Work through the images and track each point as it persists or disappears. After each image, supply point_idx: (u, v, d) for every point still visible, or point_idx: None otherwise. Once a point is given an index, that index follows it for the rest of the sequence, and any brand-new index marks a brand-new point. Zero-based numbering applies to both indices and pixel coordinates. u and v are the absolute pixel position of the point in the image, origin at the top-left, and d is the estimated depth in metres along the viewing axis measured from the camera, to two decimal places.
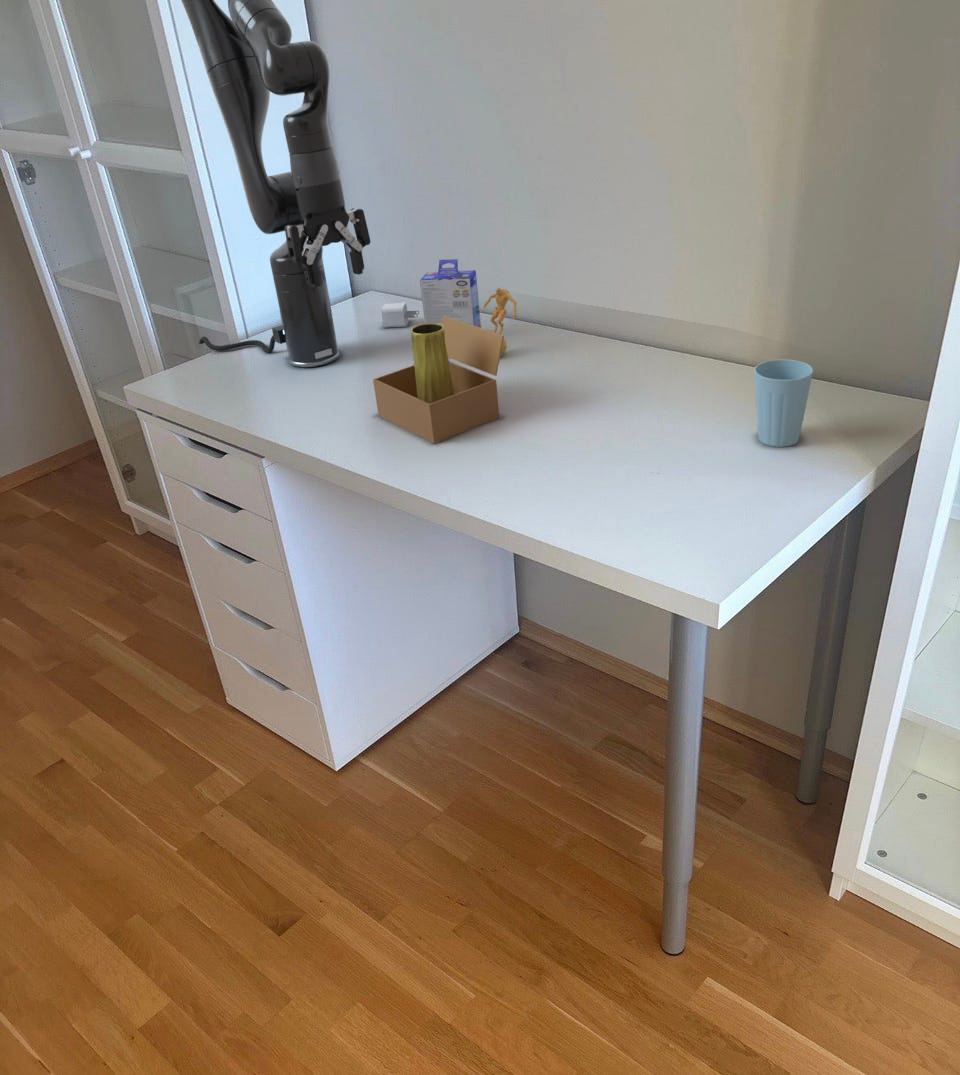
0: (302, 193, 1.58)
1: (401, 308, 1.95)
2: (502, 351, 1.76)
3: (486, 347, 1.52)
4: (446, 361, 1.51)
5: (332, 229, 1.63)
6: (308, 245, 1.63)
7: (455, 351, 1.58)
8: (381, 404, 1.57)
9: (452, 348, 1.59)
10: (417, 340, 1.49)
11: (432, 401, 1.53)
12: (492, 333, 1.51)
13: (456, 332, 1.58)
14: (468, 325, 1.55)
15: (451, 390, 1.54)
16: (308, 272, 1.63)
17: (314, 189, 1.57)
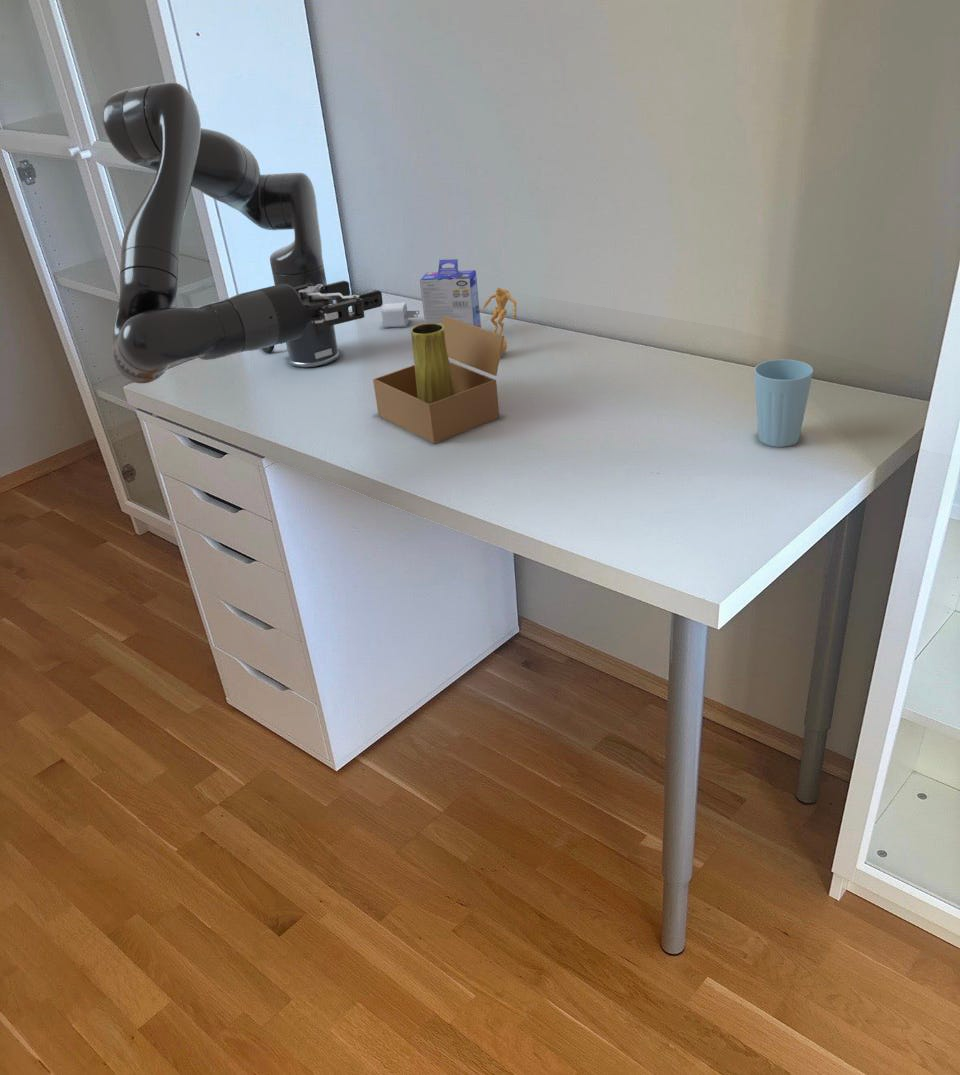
0: None
1: (401, 308, 1.95)
2: (502, 351, 1.76)
3: (486, 347, 1.52)
4: (446, 361, 1.51)
5: None
6: None
7: (455, 351, 1.58)
8: (381, 404, 1.57)
9: (452, 348, 1.59)
10: (417, 340, 1.49)
11: (432, 401, 1.53)
12: (492, 333, 1.51)
13: (456, 332, 1.58)
14: (468, 325, 1.55)
15: (451, 390, 1.54)
16: None
17: None
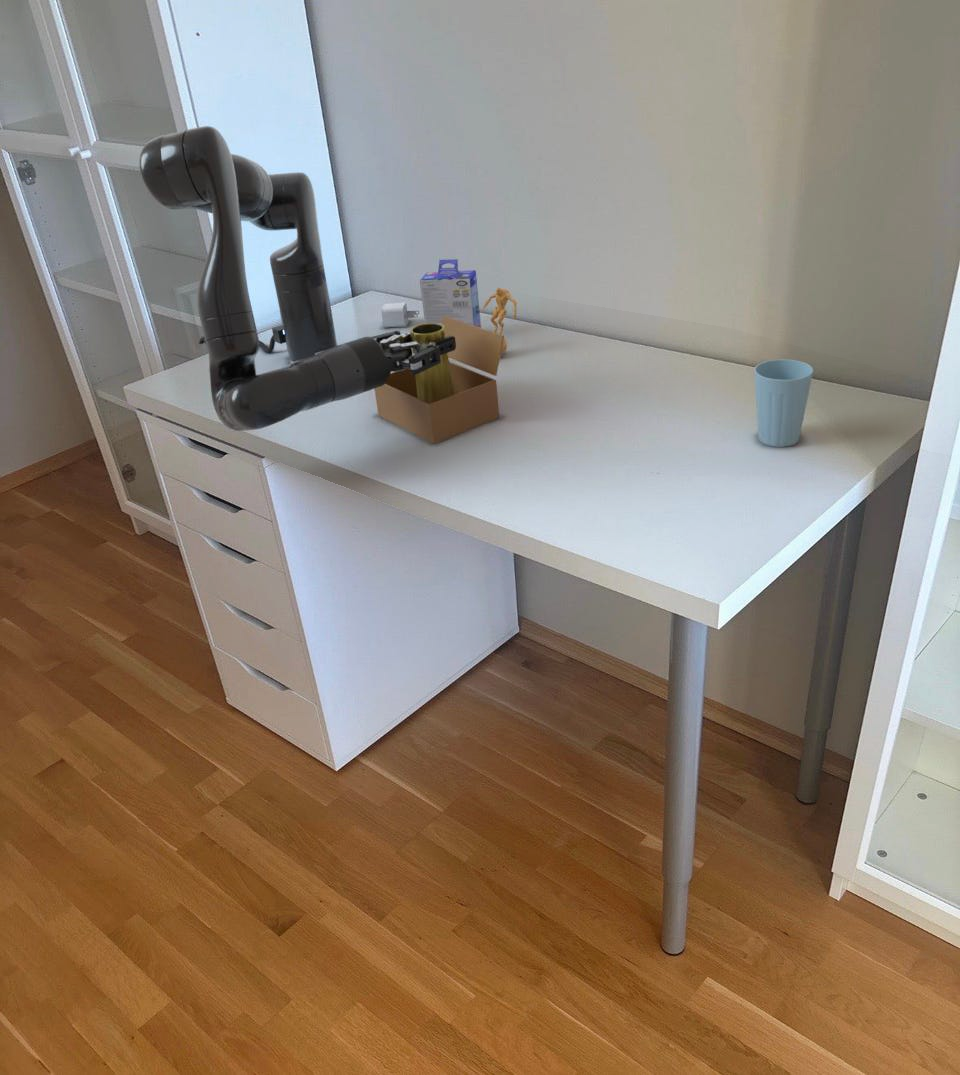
0: None
1: (401, 308, 1.95)
2: (502, 351, 1.76)
3: (486, 347, 1.52)
4: (446, 361, 1.51)
5: None
6: None
7: (455, 351, 1.58)
8: (381, 404, 1.57)
9: None
10: (417, 340, 1.49)
11: (432, 401, 1.53)
12: (492, 333, 1.51)
13: (456, 332, 1.58)
14: (468, 325, 1.55)
15: (451, 390, 1.54)
16: None
17: None
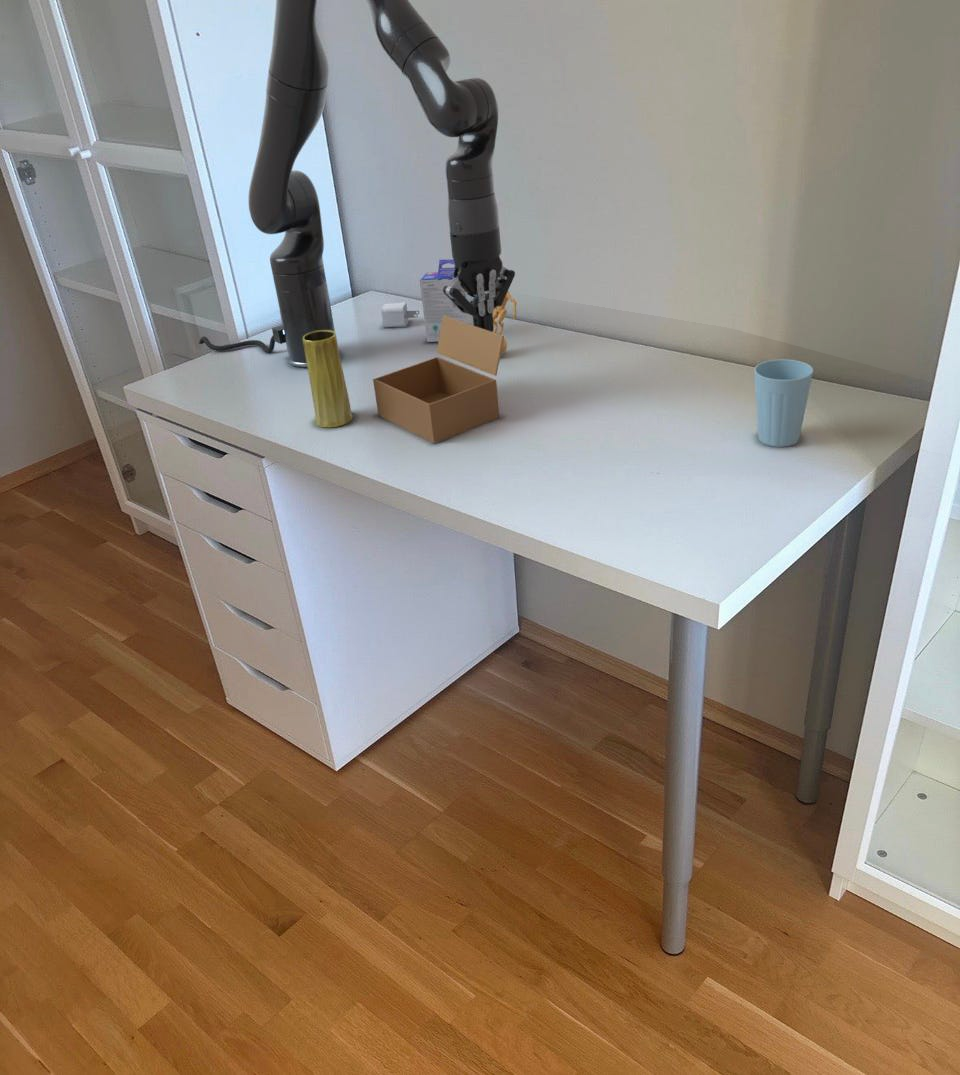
0: (460, 241, 1.47)
1: (401, 308, 1.95)
2: (502, 351, 1.76)
3: (486, 347, 1.52)
4: (338, 367, 1.54)
5: (485, 278, 1.52)
6: (472, 297, 1.53)
7: (455, 351, 1.58)
8: (381, 404, 1.57)
9: (452, 348, 1.59)
10: (308, 346, 1.51)
11: (326, 407, 1.56)
12: (492, 333, 1.51)
13: (456, 332, 1.58)
14: (468, 325, 1.55)
15: (345, 396, 1.57)
16: (479, 323, 1.55)
17: (474, 237, 1.46)
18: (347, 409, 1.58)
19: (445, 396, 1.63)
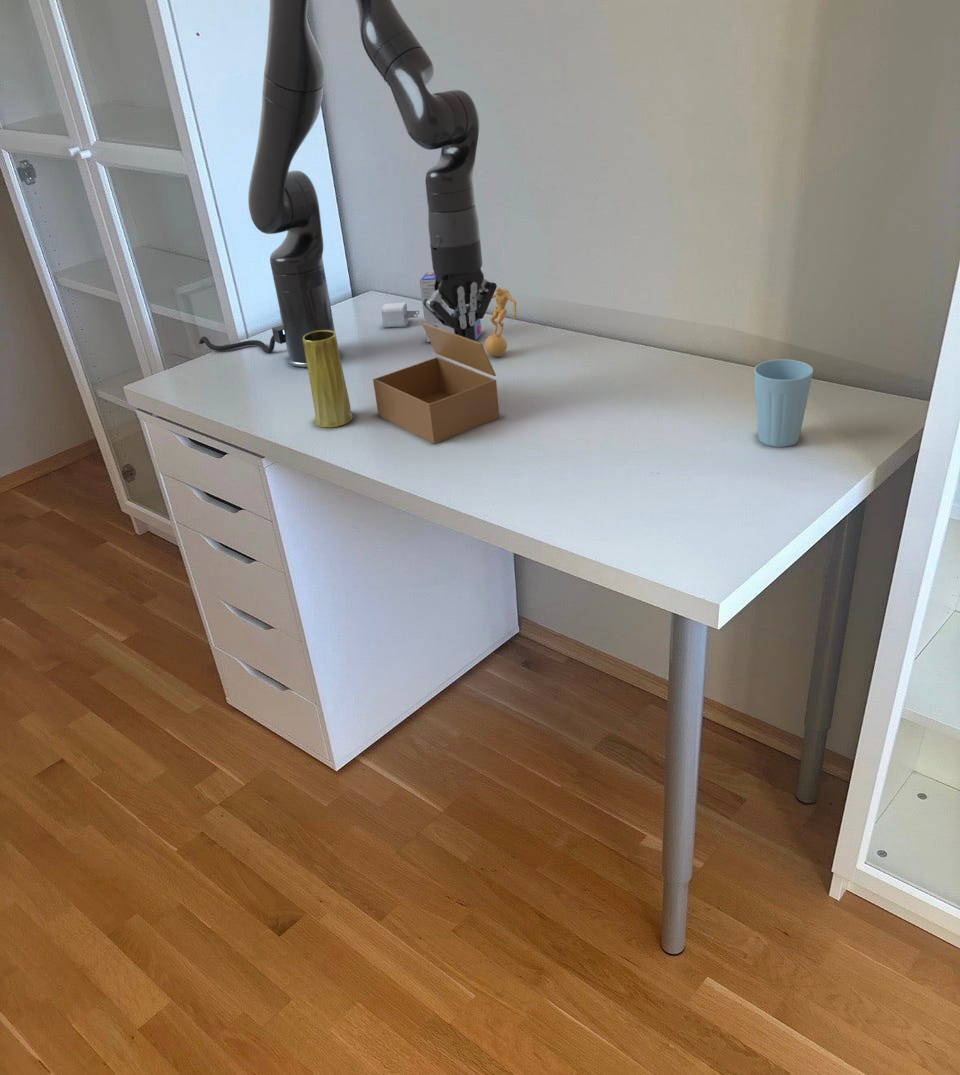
0: (441, 254, 1.45)
1: (401, 308, 1.95)
2: (502, 351, 1.76)
3: (473, 352, 1.51)
4: (338, 367, 1.54)
5: (466, 291, 1.51)
6: (453, 310, 1.52)
7: (450, 353, 1.58)
8: (381, 404, 1.57)
9: (446, 351, 1.58)
10: (308, 346, 1.51)
11: (326, 407, 1.56)
12: (470, 341, 1.49)
13: (441, 338, 1.56)
14: (447, 333, 1.54)
15: (345, 396, 1.57)
16: None
17: (455, 250, 1.44)
18: (347, 409, 1.58)
19: (445, 396, 1.63)
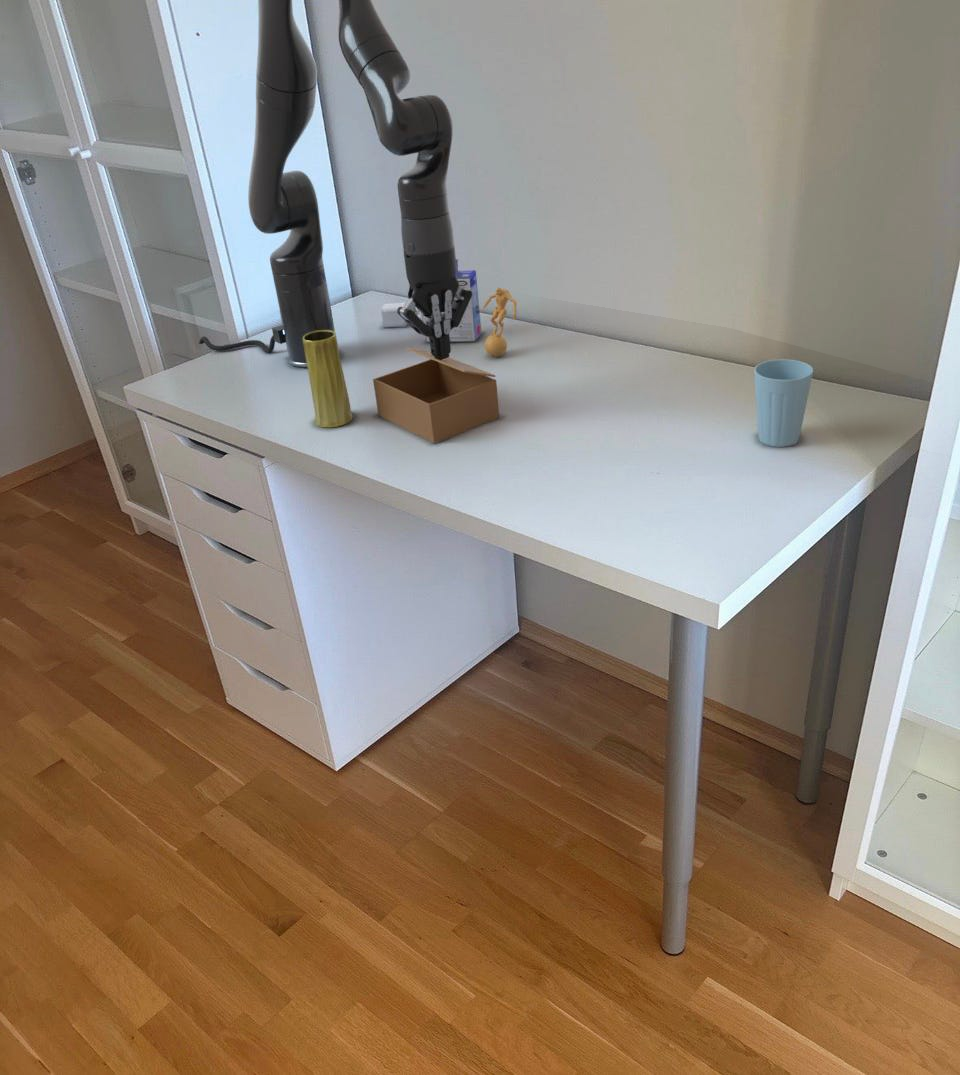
0: (414, 261, 1.43)
1: None
2: (502, 351, 1.76)
3: None
4: (338, 367, 1.54)
5: (441, 299, 1.48)
6: (427, 318, 1.49)
7: None
8: (381, 404, 1.57)
9: None
10: (308, 346, 1.51)
11: (326, 407, 1.56)
12: (455, 368, 1.49)
13: (430, 356, 1.57)
14: (432, 359, 1.54)
15: (345, 396, 1.57)
16: (435, 344, 1.51)
17: (428, 258, 1.42)
18: (347, 409, 1.58)
19: (445, 396, 1.63)
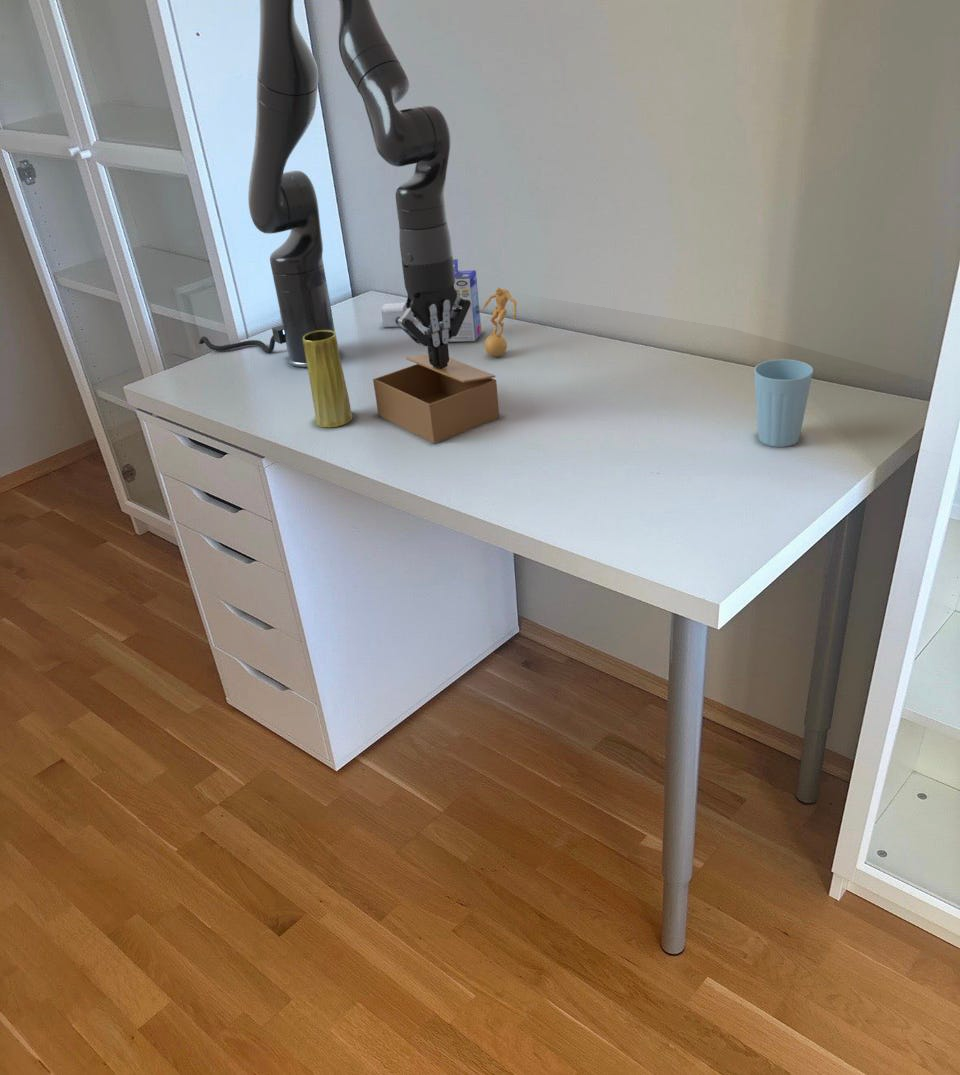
0: (412, 271, 1.43)
1: (401, 308, 1.95)
2: (502, 351, 1.76)
3: None
4: (338, 367, 1.54)
5: (439, 308, 1.49)
6: (426, 328, 1.50)
7: None
8: (381, 404, 1.57)
9: None
10: (308, 346, 1.51)
11: (326, 407, 1.56)
12: None
13: None
14: (431, 369, 1.54)
15: (345, 396, 1.57)
16: (433, 354, 1.51)
17: (426, 268, 1.42)
18: (347, 409, 1.58)
19: (445, 396, 1.63)
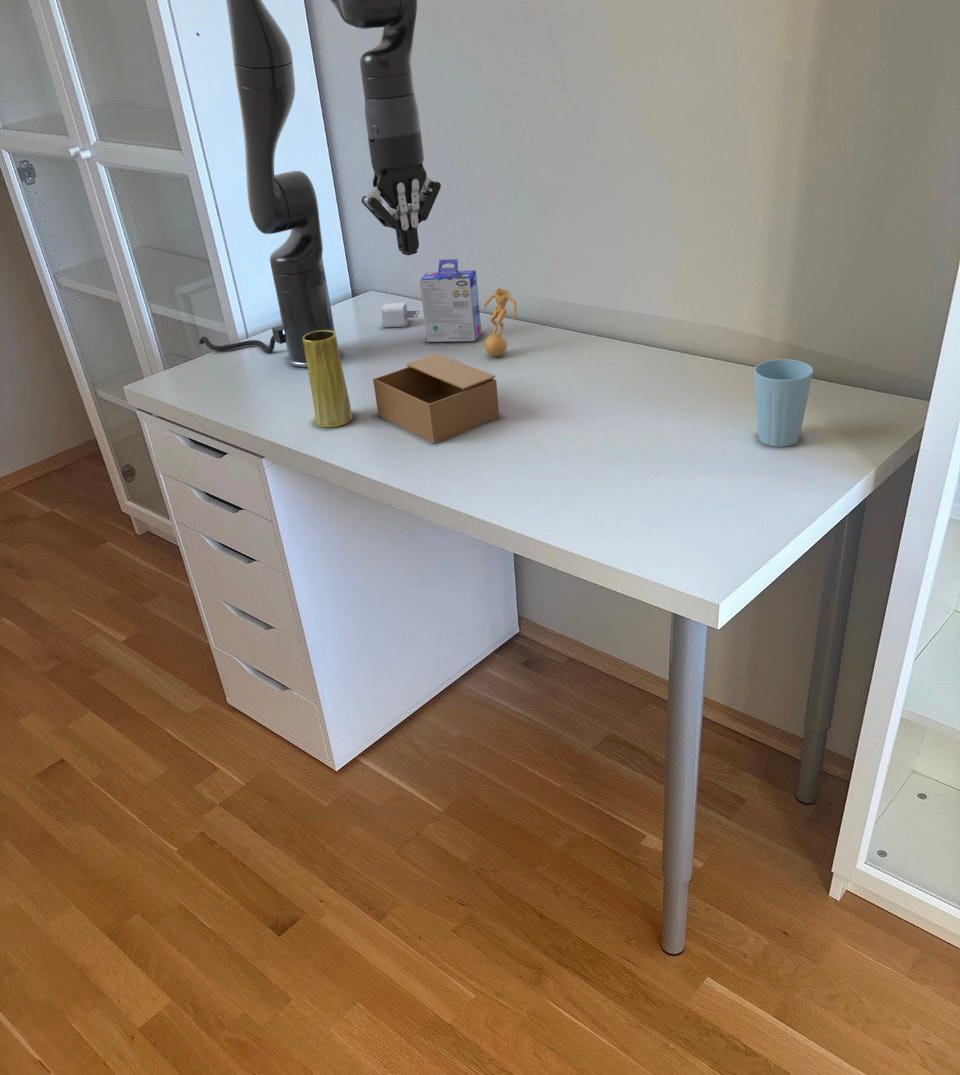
0: (378, 145, 1.37)
1: (401, 308, 1.95)
2: (502, 351, 1.76)
3: None
4: (338, 367, 1.54)
5: (407, 188, 1.43)
6: (394, 210, 1.44)
7: None
8: (381, 404, 1.57)
9: None
10: (308, 346, 1.51)
11: (326, 407, 1.56)
12: None
13: None
14: (431, 375, 1.55)
15: (345, 396, 1.57)
16: (402, 238, 1.46)
17: (393, 141, 1.36)
18: (347, 409, 1.58)
19: (445, 396, 1.63)
